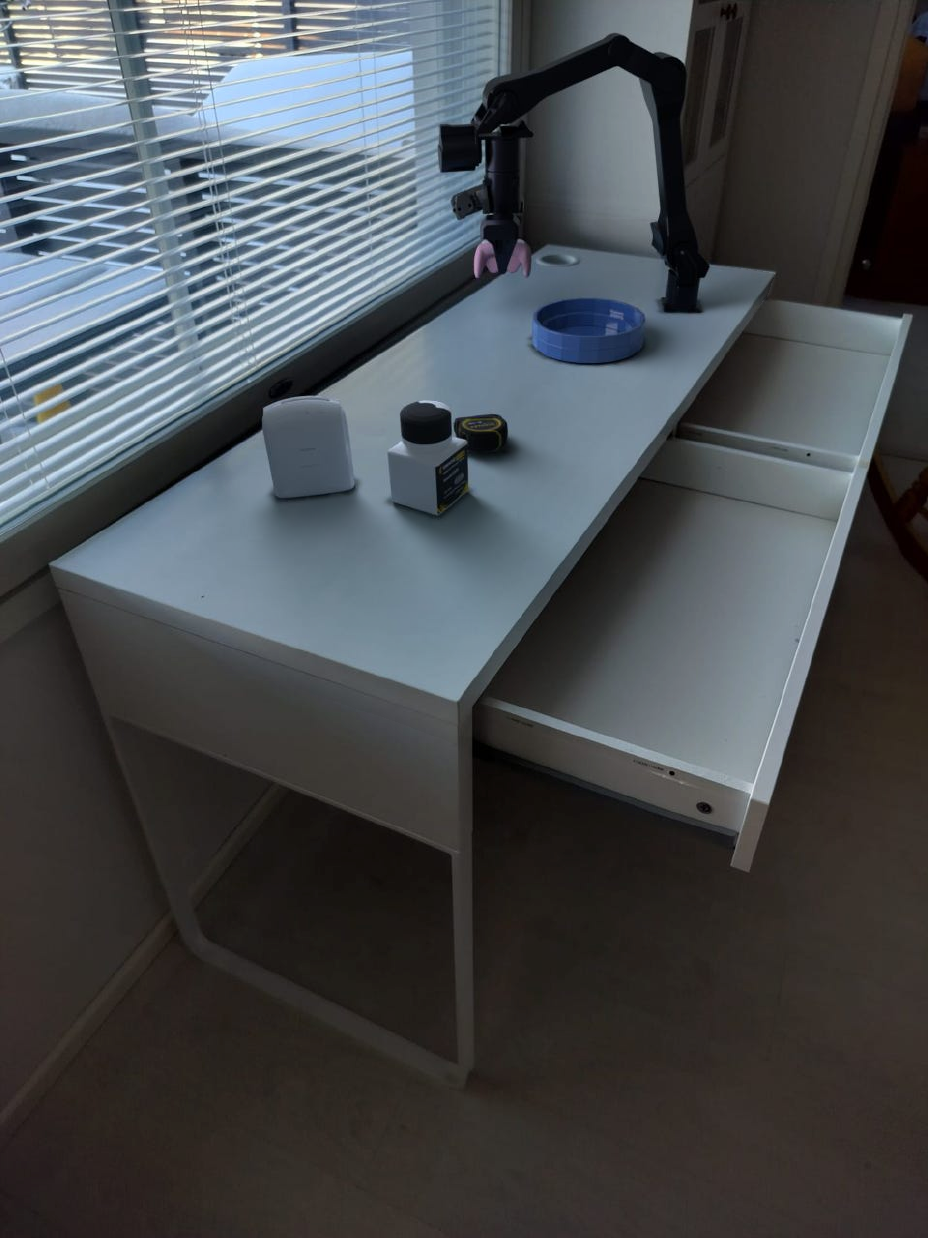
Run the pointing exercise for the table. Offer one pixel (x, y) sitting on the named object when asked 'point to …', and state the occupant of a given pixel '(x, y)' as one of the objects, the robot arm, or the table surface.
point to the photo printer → (308, 446)
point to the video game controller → (487, 257)
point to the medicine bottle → (428, 459)
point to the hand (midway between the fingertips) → (503, 268)
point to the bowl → (588, 330)
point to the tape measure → (482, 432)
